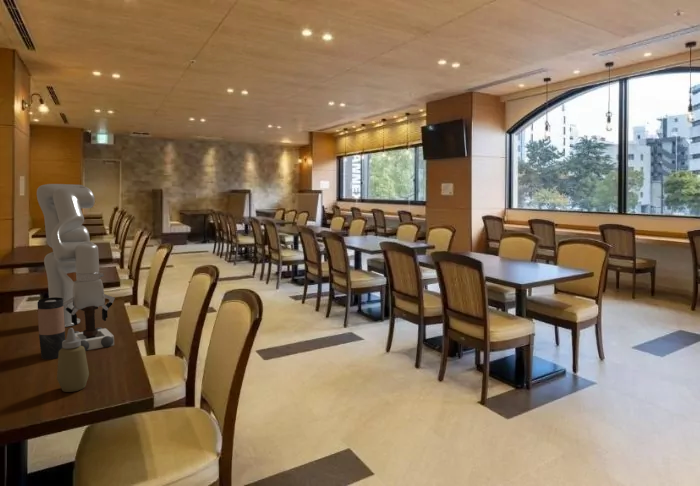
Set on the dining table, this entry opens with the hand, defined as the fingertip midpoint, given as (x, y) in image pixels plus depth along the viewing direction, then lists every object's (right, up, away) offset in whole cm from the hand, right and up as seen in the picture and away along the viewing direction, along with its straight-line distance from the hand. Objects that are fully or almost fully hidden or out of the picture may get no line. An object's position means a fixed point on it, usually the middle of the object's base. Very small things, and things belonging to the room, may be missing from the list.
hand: (90, 322), depth 175 cm
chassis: (0, -8, +1) cm, 9 cm away
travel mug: (-6, -10, -12) cm, 17 cm away
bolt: (0, -9, +1) cm, 9 cm away
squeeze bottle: (+17, -13, -38) cm, 44 cm away
